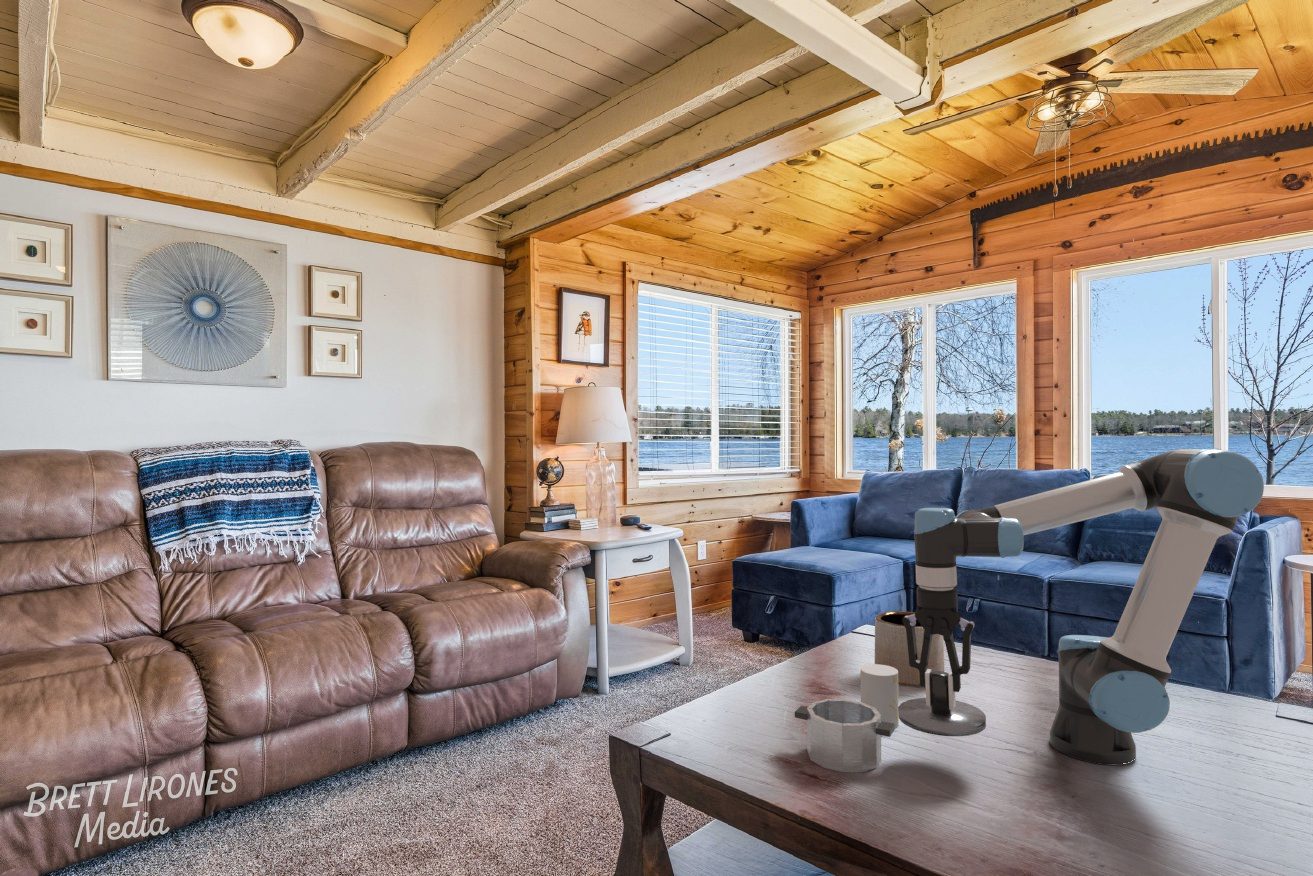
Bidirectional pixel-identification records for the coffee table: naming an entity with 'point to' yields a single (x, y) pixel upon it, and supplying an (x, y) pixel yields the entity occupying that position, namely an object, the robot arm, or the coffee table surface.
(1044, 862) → the coffee table surface
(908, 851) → the coffee table surface
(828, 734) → the pot
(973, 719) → the lid
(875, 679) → the beige cylinder
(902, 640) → the planter
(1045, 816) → the coffee table surface
